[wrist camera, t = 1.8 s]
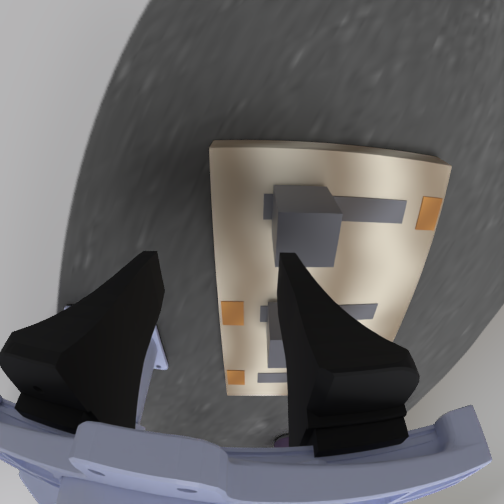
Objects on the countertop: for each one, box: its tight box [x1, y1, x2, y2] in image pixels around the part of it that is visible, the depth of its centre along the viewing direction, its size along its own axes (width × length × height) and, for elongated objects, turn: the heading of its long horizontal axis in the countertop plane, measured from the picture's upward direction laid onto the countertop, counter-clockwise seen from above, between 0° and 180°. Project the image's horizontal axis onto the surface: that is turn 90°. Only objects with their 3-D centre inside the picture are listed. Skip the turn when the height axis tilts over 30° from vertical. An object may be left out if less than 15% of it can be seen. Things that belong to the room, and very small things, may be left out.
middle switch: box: [266, 302, 286, 368], centre depth 21 cm, size 3×3×4 cm
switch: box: [272, 185, 343, 267], centre depth 16 cm, size 3×3×4 cm
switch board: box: [209, 140, 452, 396], centre depth 23 cm, size 15×24×2 cm, turn 0°
